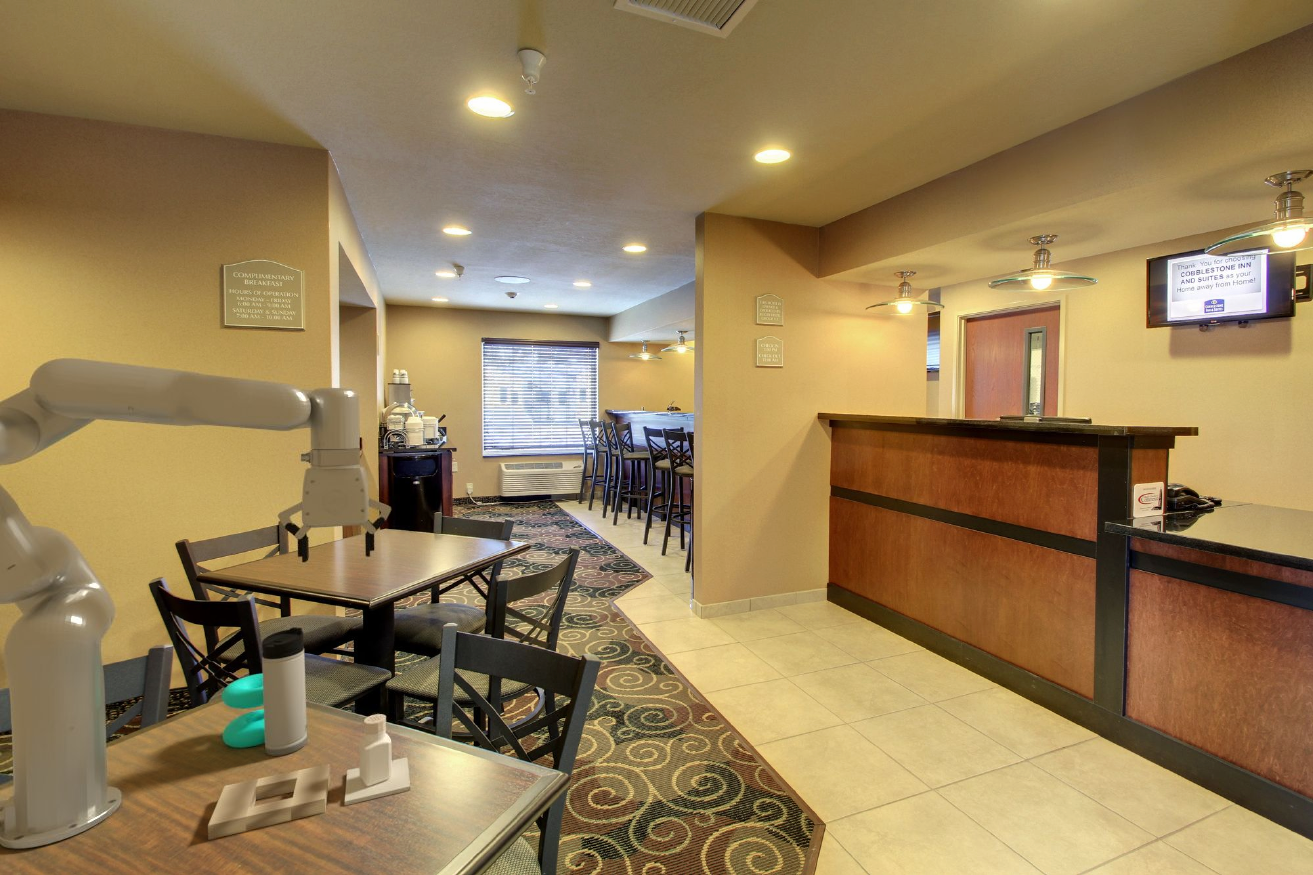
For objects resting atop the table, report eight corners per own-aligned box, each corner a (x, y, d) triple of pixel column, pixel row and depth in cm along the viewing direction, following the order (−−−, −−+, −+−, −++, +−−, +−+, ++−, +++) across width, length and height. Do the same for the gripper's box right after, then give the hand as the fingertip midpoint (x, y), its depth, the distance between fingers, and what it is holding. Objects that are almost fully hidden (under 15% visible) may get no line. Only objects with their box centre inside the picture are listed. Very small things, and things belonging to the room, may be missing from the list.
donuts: (265, 666, 116) (299, 675, 112) (266, 718, 117) (300, 729, 112) (209, 687, 107) (243, 698, 103) (210, 743, 108) (244, 756, 103)
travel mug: (316, 738, 109) (313, 627, 108) (287, 758, 102) (283, 640, 102) (287, 735, 110) (283, 626, 110) (256, 754, 104) (252, 638, 103)
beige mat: (344, 805, 90) (344, 801, 90) (347, 773, 98) (347, 770, 98) (410, 789, 94) (410, 786, 94) (407, 760, 102) (407, 757, 102)
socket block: (208, 839, 82) (207, 825, 82) (225, 798, 91) (224, 785, 91) (325, 812, 88) (324, 798, 88) (330, 775, 97) (329, 763, 97)
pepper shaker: (365, 788, 93) (364, 727, 93) (358, 777, 96) (357, 717, 96) (392, 778, 95) (392, 719, 95) (385, 767, 98) (384, 710, 98)
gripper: (273, 462, 98) (275, 567, 98) (390, 459, 105) (392, 557, 105) (280, 459, 105) (282, 558, 105) (390, 457, 112) (391, 549, 112)
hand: (337, 558), depth 105 cm, fingers open, 9 cm apart
